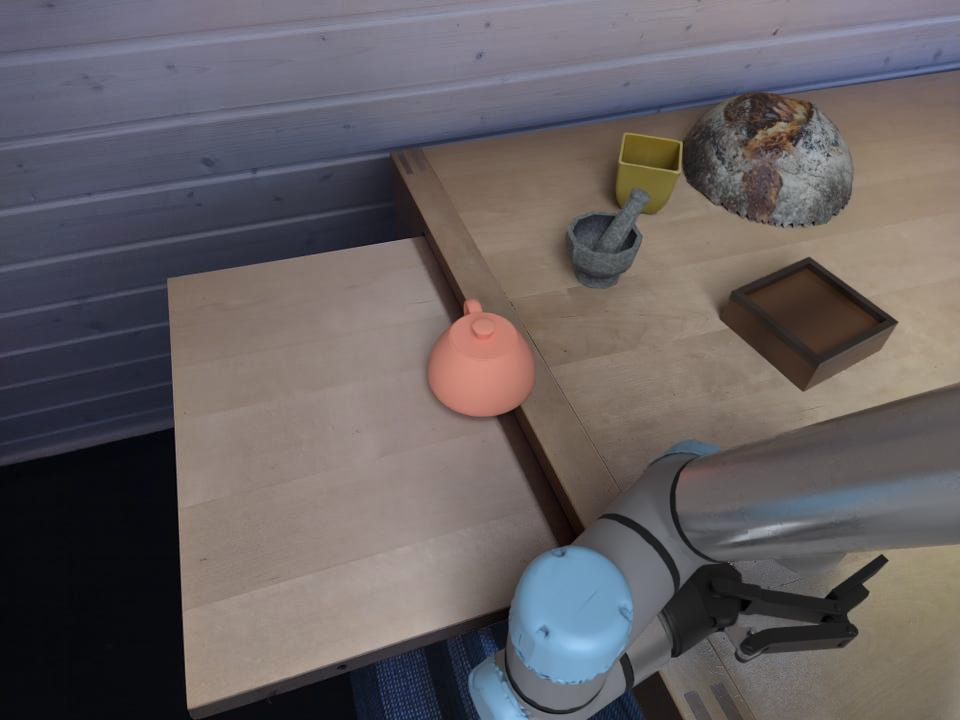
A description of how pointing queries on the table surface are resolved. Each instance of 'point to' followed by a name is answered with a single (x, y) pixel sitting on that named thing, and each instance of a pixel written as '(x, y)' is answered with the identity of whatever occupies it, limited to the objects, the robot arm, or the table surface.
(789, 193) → the bread
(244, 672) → the table surface
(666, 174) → the flower pot
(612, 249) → the mortar and pestle
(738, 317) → the brown wooden tray
